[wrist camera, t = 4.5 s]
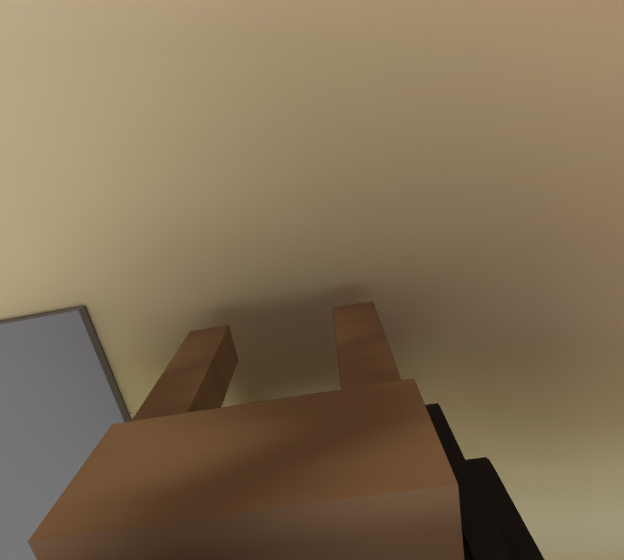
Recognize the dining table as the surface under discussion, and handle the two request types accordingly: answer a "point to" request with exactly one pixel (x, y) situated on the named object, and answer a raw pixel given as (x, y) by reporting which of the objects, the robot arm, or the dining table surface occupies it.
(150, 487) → the brown box with pegs
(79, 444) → the mat
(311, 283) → the dining table surface
